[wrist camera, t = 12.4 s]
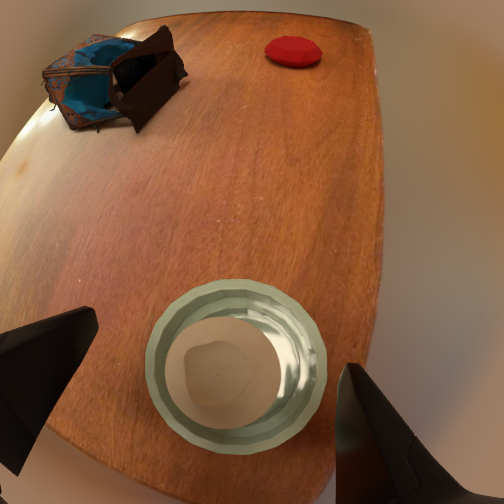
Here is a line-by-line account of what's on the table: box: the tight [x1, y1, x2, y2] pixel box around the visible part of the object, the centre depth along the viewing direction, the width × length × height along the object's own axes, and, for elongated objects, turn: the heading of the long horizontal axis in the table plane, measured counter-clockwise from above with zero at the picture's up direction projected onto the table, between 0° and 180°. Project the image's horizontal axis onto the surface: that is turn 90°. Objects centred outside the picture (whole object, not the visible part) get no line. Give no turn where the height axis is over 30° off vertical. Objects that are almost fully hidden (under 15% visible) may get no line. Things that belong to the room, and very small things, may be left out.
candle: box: [165, 317, 281, 429], centre depth 15 cm, size 6×6×10 cm
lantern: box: [41, 24, 188, 133], centre depth 29 cm, size 16×16×25 cm
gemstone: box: [265, 36, 322, 67], centre depth 36 cm, size 9×9×3 cm
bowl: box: [145, 279, 327, 455], centre depth 18 cm, size 11×11×5 cm
